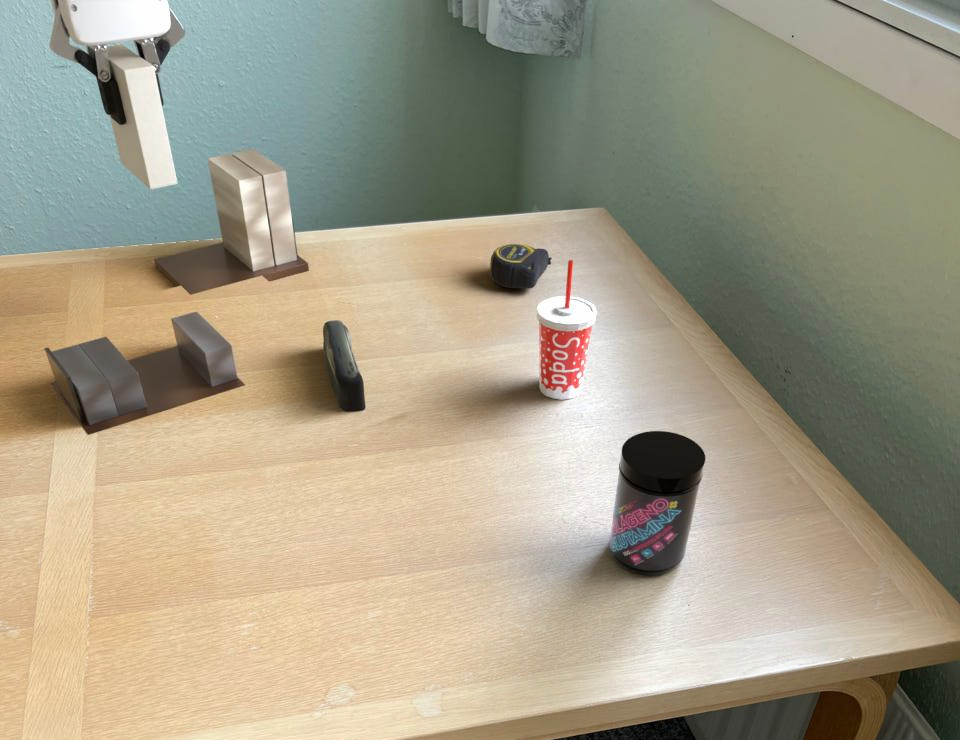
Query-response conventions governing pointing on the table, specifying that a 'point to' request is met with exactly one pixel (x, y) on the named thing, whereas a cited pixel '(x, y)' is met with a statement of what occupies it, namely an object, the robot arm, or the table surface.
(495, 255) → the tape measure
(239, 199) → the bookend with slabs
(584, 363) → the beverage cup
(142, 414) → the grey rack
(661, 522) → the supplement container
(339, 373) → the black stapler
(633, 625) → the table surface
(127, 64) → the white book
